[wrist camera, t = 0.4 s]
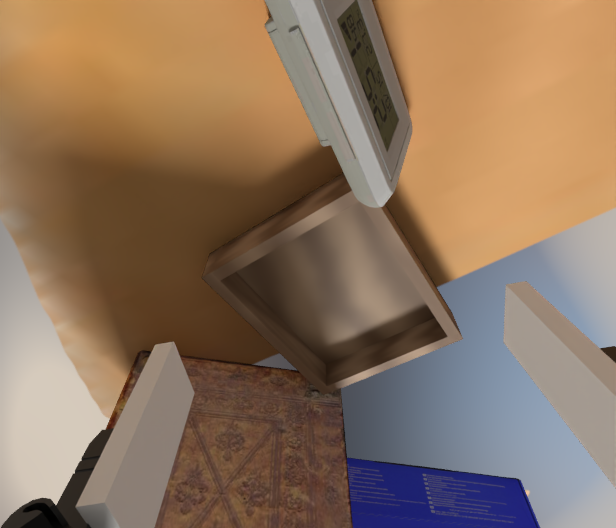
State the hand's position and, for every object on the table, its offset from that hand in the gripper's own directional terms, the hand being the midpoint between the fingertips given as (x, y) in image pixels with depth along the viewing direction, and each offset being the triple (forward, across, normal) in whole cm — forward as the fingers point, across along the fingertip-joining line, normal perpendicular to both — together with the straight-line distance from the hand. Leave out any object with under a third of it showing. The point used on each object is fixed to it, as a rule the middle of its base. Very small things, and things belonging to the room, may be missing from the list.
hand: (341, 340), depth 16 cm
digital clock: (+21, +4, +10) cm, 24 cm away
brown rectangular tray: (+25, +1, -12) cm, 28 cm away
